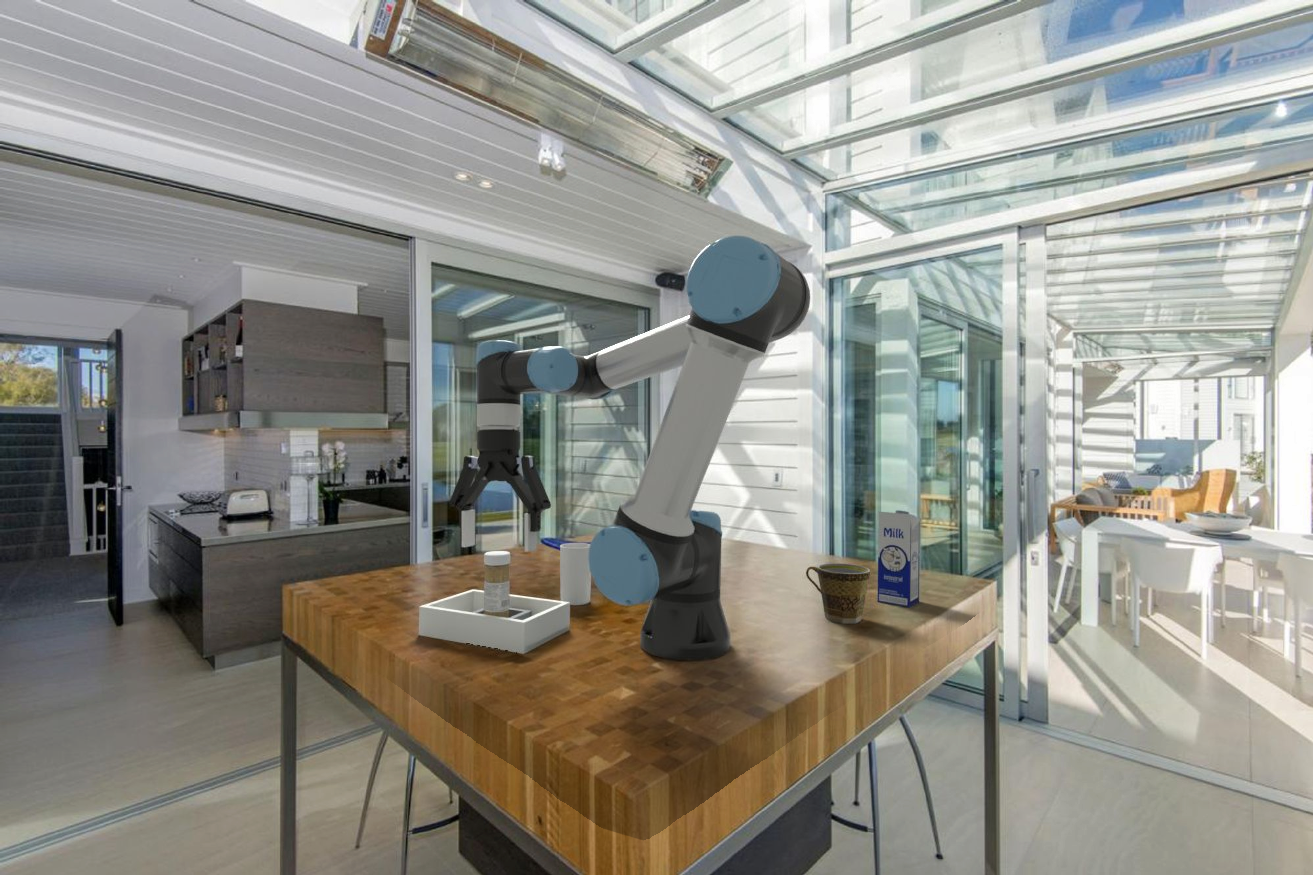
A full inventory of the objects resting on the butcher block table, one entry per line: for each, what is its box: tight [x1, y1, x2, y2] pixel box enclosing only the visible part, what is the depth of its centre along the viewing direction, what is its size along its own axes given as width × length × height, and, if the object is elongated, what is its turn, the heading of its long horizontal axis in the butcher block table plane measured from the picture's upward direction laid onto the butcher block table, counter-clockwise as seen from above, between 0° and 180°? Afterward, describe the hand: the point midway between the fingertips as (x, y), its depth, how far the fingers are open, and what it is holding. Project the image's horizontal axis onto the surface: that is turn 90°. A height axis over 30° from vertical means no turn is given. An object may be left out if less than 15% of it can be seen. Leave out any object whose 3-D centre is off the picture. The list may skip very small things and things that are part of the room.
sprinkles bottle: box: [483, 550, 511, 618], centre depth 109 cm, size 5×5×14 cm
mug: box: [559, 542, 592, 606], centre depth 133 cm, size 10×7×12 cm, turn 4°
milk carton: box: [877, 509, 921, 608], centre depth 135 cm, size 7×7×20 cm
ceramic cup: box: [805, 562, 871, 625], centre depth 122 cm, size 13×10×10 cm
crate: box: [418, 588, 571, 655], centre depth 109 cm, size 22×14×5 cm, turn 67°
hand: (498, 548), depth 109 cm, fingers open, 13 cm apart
